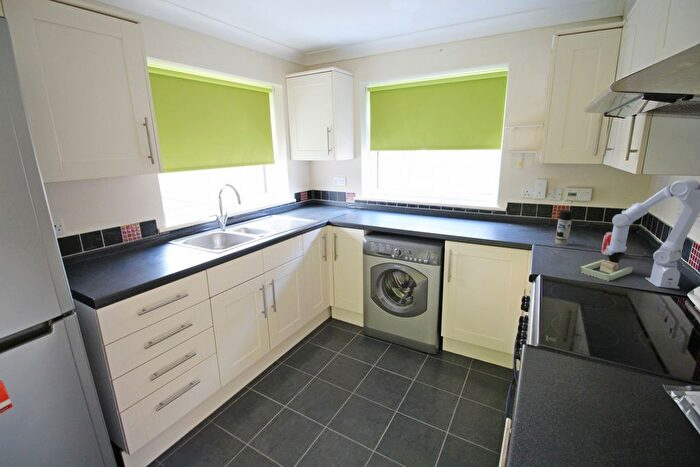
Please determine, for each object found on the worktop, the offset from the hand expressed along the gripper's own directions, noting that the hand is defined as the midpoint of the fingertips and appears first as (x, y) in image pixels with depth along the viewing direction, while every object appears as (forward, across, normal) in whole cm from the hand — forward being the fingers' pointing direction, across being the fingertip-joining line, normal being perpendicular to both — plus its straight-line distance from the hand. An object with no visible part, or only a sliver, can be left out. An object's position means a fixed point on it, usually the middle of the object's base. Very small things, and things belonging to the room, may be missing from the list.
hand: (613, 266), depth 163 cm
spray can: (+2, -22, -37) cm, 43 cm away
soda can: (+2, -23, -12) cm, 26 cm away
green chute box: (+1, +8, 0) cm, 8 cm away
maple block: (+1, +4, 0) cm, 4 cm away
